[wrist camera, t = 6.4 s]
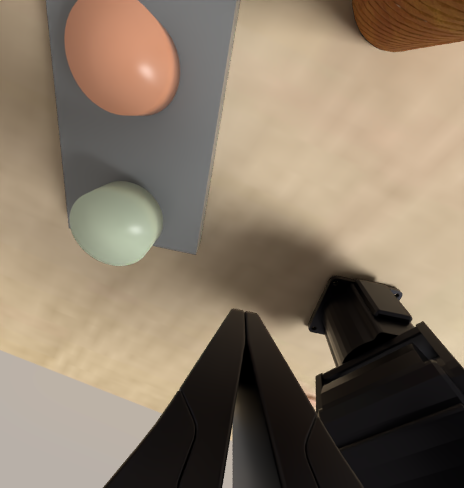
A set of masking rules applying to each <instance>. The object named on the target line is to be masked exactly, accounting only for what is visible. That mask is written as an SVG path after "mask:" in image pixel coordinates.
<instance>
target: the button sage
mask: <svg viewBox="0 0 464 488" xmlns="http://www.w3.org/2000/svg"><path fill="white" fill-rule="evenodd" d="M70 228H71V231H72V234H73V236H74V238H75V240H76V241H77V243H78V244H79V245H80V247H81V248H82V249H83V250H84V251H85V252H86V253H87V254H89V255H90V256H91V257H93V258H95V259H96V260H98V261H100V262H103V263H105V264H109V265H114V266H126V265H131V264H134V263H136V262H138V261H139V260H140V259H142V258H143V257H144V256H145V254H146V253H147V252H148V250H149V249H150V248H151V247H152V245H153V244H154V243H155V241H156V240H157V239H158V237H159V236H160V234H161V232H162V228H163V215H162V211H161V209H160V206H159V204H158V203H157V201H156V200H155V198H154V197H153V196H152V195H151V194H150V193H149V192H148V191H147V190H145V189H144V188H142V187H140V186H139V185H136V184H134V183H131V182H126V181H115V182H111V183H108V184H106V185H104V186H102V187H99V188H97V189H95V190H93V191H91V192H89V193H86V194H84V195H83V196H81V197H80V198H79V199H77V200H76V202H75V203H74V204H73V206H72V208H71V212H70Z"/></svg>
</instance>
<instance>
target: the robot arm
mask: <svg viewBox="0 0 464 488" xmlns="http://www.w3.org/2000/svg"><path fill="white" fill-rule="evenodd" d="M334 281H337V282H336V283H333V282H334ZM396 293H397V294H396ZM394 294H396V295H394ZM401 297H402V293H401V291H400V290H399V289H397V288H392V287H387V286H386V285H385V284H380V283H375V282H371V281H366V280H361V279H358V280H354V279H349V278H344V277H340V276H332V277H331V278H330V279H329V281H328V283H327V285H326V287H325V290H324V292H323V294H322V296H321V298H320V300H319V302H318V305H317V307H316V309H315V311H314V313H313V315H312V317H311V320H310V322H309V324H308V328H309V331H310V332H314V333H319V334H324V335H325V336H326V339H327V342H328V345H329V348H330V351H331V354H332V356H333V359H334V362H335V365H336V368H334V369H332V370H330V371H328V372H326V373H324V374H323V373H321V374H319V375H317V376H316V411H315V410H314V408H313V406H312V405H311V403H310V401H309V400H308V398H307V396H306V394H305V393H304V391H303V389H302V388H301V386H300V384H299V383H298V381H297V379H296V378H295V376H294V374H293V373H292V371H291V369H290V367H289V366H288V364H287V362H286V361H285V359H284V357H283V356H282V354H281V352H280V351H279V349H278V347H277V346H276V344H275V342H274V340H273V339H272V337H271V335H270V334H269V332H268V330H267V329H266V327H265V325H264V324H263V322H262V320H261V318H260V317H259V315H258V314H257V313H253V312H248V311H246V312H245V313H244V311H243V310H238V309H231V311H230V312H229V314H228V315H227V317H226V318H225V320H224V321H223V323H222V324H221V326H220V327H219V329H218V331H217V332H216V334H215V335H214V337H213V338H212V340H211V341H210V343H209V344H208V346H207V347H206V349H205V350H204V352H203V353H202V355H201V356H200V358H199V360H198V361H197V363H196V364H195V366H194V367H193V369H192V370H191V372H190V373H189V375H188V376H187V378H186V379H185V381H184V383H183V384H182V386H181V387H180V389H179V391H177V393H176V394H175V396H174V397H173V399H172V400H171V402H170V404H169V405H168V406H167V408H166V409H165V411H164V412H163V414H162V415H161V416H160V418H159V419H158V421H157V422H156V424H155V425H154V426H153V427H152V429H151V430H150V431H149V432H148V434H147V435H146V436H145V438H144V439H143V440H142V441H141V443H140V444H139V445H138V446H137V448H136V449H135V450H134V451H133V452H132V454H131V455H130V456H129V457H128V458H127V460H126V461H125V462H124V463H123V464H122V465H121V467H120V468H119V469H118V470H117V472H116V473H115V474H114V475H113V476H112V478H111V479H110V480H109V481H108V482H107V484H106V485H105V486H104V487H103V488H222V485H223V479H224V473H225V466H226V460H227V454H228V448H229V442H230V436H231V429H232V423H233V488H464V368H463V367H462V366H461V365H460V364H459V362H458V361H457V360H456V359H455V358H454V357H453V355H452V354H451V353H450V352H449V351H448V350H447V348H446V347H445V346H444V345H443V344H442V343H441V341H440V340H439V339H438V338H437V337H436V336H435V334H434V333H433V332H432V331H431V330H430V329H429V327H428V326H427V325H426V324H425V323H424V322H423V321H422V322H421V323H419V324H417V325H416V327H414V326H413V325H412V324H411V321H412V317H411V315H410V314H409V312H408V311H407V310H406V309H405V308H404V306H403V305H402V304H401V303H400V301H399V300H400V299H401Z"/></svg>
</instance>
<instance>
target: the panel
mask: <svg viewBox="0 0 464 488" xmlns="http://www.w3.org/2000/svg"><path fill="white" fill-rule="evenodd" d="M77 1H78V0H46V7H47V17H48V27H49V37H50V47H51V56H52V66H53V76H54V86H55V96H56V105H57V115H58V125H59V135H60V145H61V155H62V164H63V174H64V184H65V194H66V204H67V214H68V223H69V228H70V212H71V208H72V206H73V204H74V203H75V202H76V200H77V199H79V198H80V197H81V196H83V195H84V194H86V193H89V192H91V191H93V190H95V189H97V188H99V187H102V186H104V185H106V184H108V183H111V182H115V181H126V182H131V183H134V184H136V185H139V186H140V187H142V188H144V189H145V190H147V191H148V192H149V193H150V194H151V195H152V196H153V197H154V198H155V200H156V201H157V203H158V204H159V206H160V209H161V211H162V215H163V228H162V232H161V234H160V236H159V237H158V239H157V240H156V241H155V243H154V244H153V245H152V246H156V247H161V248H166V249H170V250H175V251H180V252H185V253H190V254H194V255H196V253H197V251H198V248H199V245H200V242H201V236H202V230H203V224H204V218H205V212H206V206H207V200H208V194H209V188H210V182H211V176H212V169H213V163H214V157H215V151H216V145H217V139H218V133H219V127H220V121H221V115H222V109H223V103H224V97H225V91H226V85H227V79H228V73H229V67H230V61H231V54H232V48H233V42H234V36H235V30H236V24H237V18H238V12H239V6H240V0H138V1H139V2H140V3H141V4H143V5H144V6H145V7H146V8H147V10H148V11H149V12H150V13H151V14H152V15H153V16H154V17H155V18H156V19H157V20H158V21H159V22H160V23H161V24H162V26H163V27H164V28H165V29H166V30H167V32H168V33H169V35H170V36H171V38H172V40H173V42H174V44H175V47H176V49H177V53H178V56H179V62H180V81H179V86H178V89H177V92H176V94H175V96H174V98H173V100H172V101H171V102H170V104H169V105H168V106H167V107H166V108H165V109H163V110H162V111H160V112H158V113H156V114H153V115H148V116H125V115H117V114H113V113H110V112H108V111H106V110H104V109H102V108H100V107H99V106H97V105H96V104H95V103H93V102H92V101H91V100H90V99H89V98H88V97H87V96H86V95H85V93H84V92H83V91H82V90H81V88H80V87H79V86H78V84H77V82H76V80H75V79H74V77H73V75H72V72H71V70H70V67H69V64H68V61H67V57H66V52H65V40H64V36H65V27H66V22H67V19H68V16H69V13H70V11H71V9H72V7H73V6H74V5H75V3H76V2H77ZM70 229H71V228H70Z"/></svg>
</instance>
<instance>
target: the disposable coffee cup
mask: <svg viewBox="0 0 464 488" xmlns="http://www.w3.org/2000/svg"><path fill="white" fill-rule="evenodd" d="M352 6H353V11H354V16H355V21H356V23H357V25H358V28H359V30H360V32H361V33H362V34H363V36H364V37H365V39H366V40H367V41H369V42H370V43H371V44H373V45H374V46H375V47H377V48H379V49H381V50H385V51H390V52H400V51H407V50H412V49H418V48H424V47H430V46H435V45H442V44H449V43H454V42H460V41H464V0H352Z"/></svg>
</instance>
